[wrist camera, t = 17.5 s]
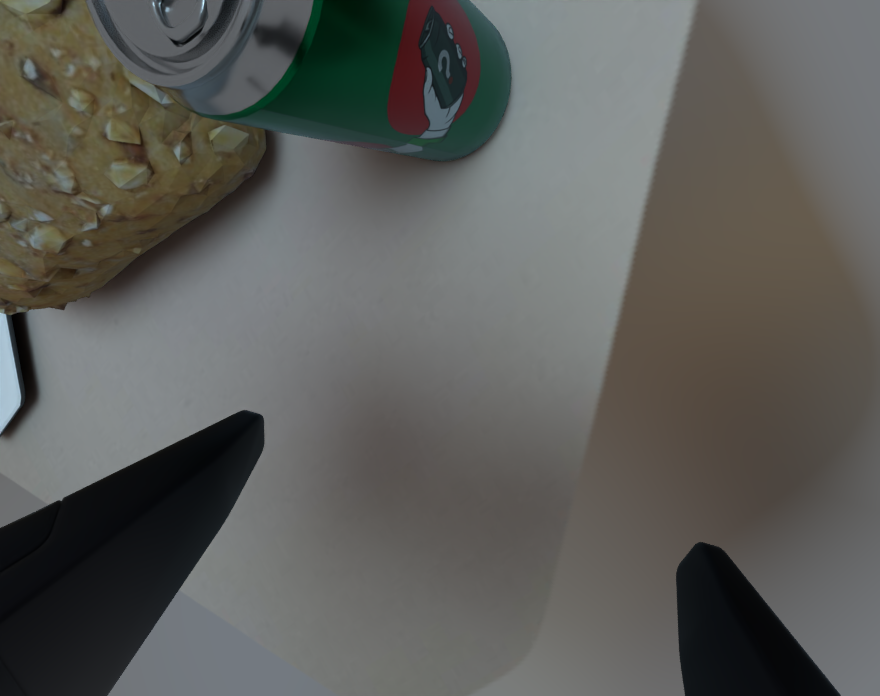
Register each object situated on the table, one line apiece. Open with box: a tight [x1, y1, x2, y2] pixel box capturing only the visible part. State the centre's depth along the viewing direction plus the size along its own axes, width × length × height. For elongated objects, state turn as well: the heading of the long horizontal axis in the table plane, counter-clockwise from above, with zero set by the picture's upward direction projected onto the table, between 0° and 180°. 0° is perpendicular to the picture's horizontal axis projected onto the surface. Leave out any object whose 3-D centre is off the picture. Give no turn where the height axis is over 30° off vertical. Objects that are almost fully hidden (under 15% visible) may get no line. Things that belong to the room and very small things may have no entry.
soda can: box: [85, 0, 511, 161], centre depth 13 cm, size 5×5×12 cm
